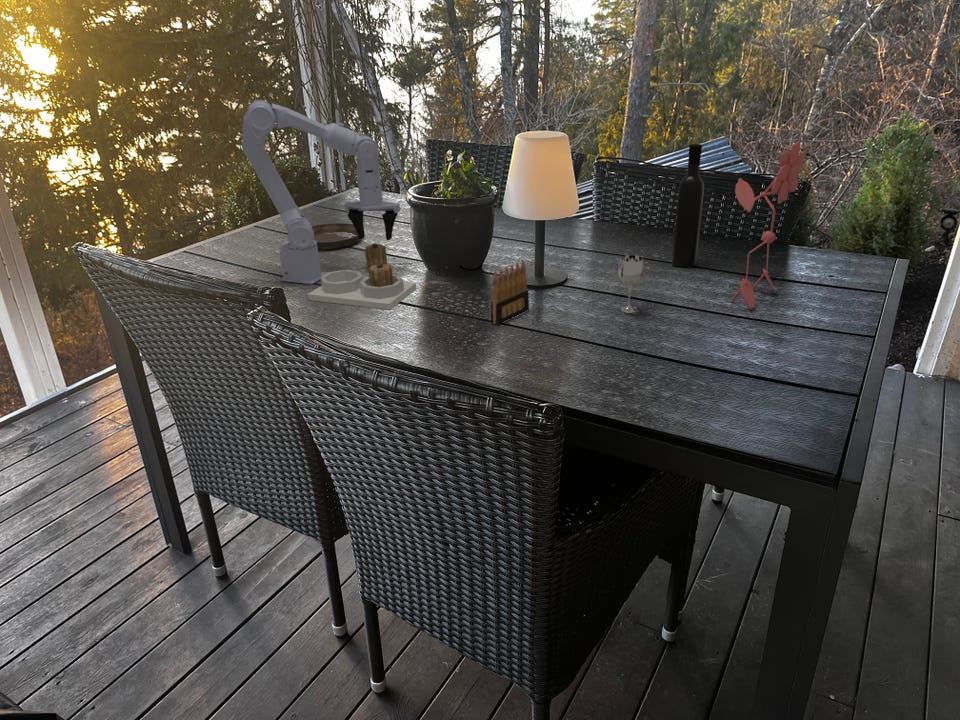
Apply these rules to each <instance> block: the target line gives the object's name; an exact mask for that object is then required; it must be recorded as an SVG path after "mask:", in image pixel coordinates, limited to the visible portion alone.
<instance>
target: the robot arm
mask: <svg viewBox="0 0 960 720" xmlns="http://www.w3.org/2000/svg"><path fill="white" fill-rule="evenodd" d="M242 125H243V126H242V139H241V149H242V151H243V153H244V155H245V157H246V158H247V161H248V162H249V163H250V165H251V166H252V169H253V170H254V173H255V174H256V175H257V177H258V180H259V181H260V183H261V184H262V186H263V187H264V190H265V191H266V192H267V194H268V196H269V198H270V199H271V201H272V203H273V205H274V207H275V208H276V210H277V212H278V214H279V215H280V218H281V220H282V222H283V225H284V227H285V229H286V231H287V238H288V243H286V244H283V245H282V246H281V247H280V251H279V261H280V262H279V263H280V267H281V268H280V269H281V274H282V278H281V281H282V282H289V283H297V284H298V283H299V284H304V285H305V284H306V285H314V284H315V283H316V282H318V281H321V277H322V276H324V275H326V274H327V273H329V272H327V271H322V269H321V261H320V254H319V249H318V248H317V242H316V241H315V240H314V232H313V230H312V226H313V225H312V224H313V223H312V222H311V220H310V219H309V218H308V217H307V216H305V215H304V214H303V213H302V211H301V209H300V208H299V206H298V205H297V204H296V202H295V200H294V199H293V197H292V196H291V193H290V191H289V190H288V188H287V186H286V185H285V183H284V181H283V179H282V177H281V176H280V174H279V172H278V170H277V168H276V166H275V165H274V163H273V161H272V159H271V157H270V156H269V155H268V152H267V150H266V149H265V143H266V140H267V138H268V137H267V136H268V135H269V134H270V132H271V131H272V130H273V128H274V127H275V125H276V127H277V129H284V128H290V127H291V128H294V129H297V130H299V131H302V132H305V133H307V134H309V135H312V136H315V137H318V138H321V139H322V141H323V143H324V145H325V146H326V147H328V148H331V149H333V150H335V151H338V152H340V153H343V154H345V155H348V156H355V161H356V168H355V169H356V177H357V185H358V194H359V195H358V196H359V201H347V202H345V203H344V204H343V206H344V211H345V212H348V213H347V215H346V216H347V218H348V219H349V221H350V222H351V224H353V225H354V227H355V229H356V231H357V234H358V237H359V240H362V239H364V238H365V225H364V212H381V213H382V212H383V214H381V218H382V220H383V224H384V229H385V230H384V231H385V239H386V240H385V241H390V240H392V237H393V229H394V225H395V222H396V218H397V217H398V215H399V214H398V213H399V212H401V205H400V203H399V202H398V203H397V202H396V203H395V202H390V201H389V202H387V201H383V200H384V199H383V190H382V179H381V171H380V170H381V169H380V166H379V159H378V158H379V156H380V152H381V151H380V148H379V145H378V144H377V142H376V141H375V140H374V139H373V138H372V137H370V136H368V135H367V134H363V132H361V131H357V132H356V131H354V130H351V129H349V128H348V127H344V126H345V124H344V123H341V122H337V123H335V122H332V123H330V124H327V125H326V124H324V123H322V122H319V121H317V120H315V119H312V118H310V117H309V116H307V115H303V114H302V113H299V112H297V111H296V110H292V109H291V108H288V107H286V106H282V105H279V104H276V103H269V102H268V101H266V100H262V99H256V100H254V101H253V102H251V103H250V104H249V106H248V108H247V110H246V112H245V114H244V117H243V124H242Z"/></svg>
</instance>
